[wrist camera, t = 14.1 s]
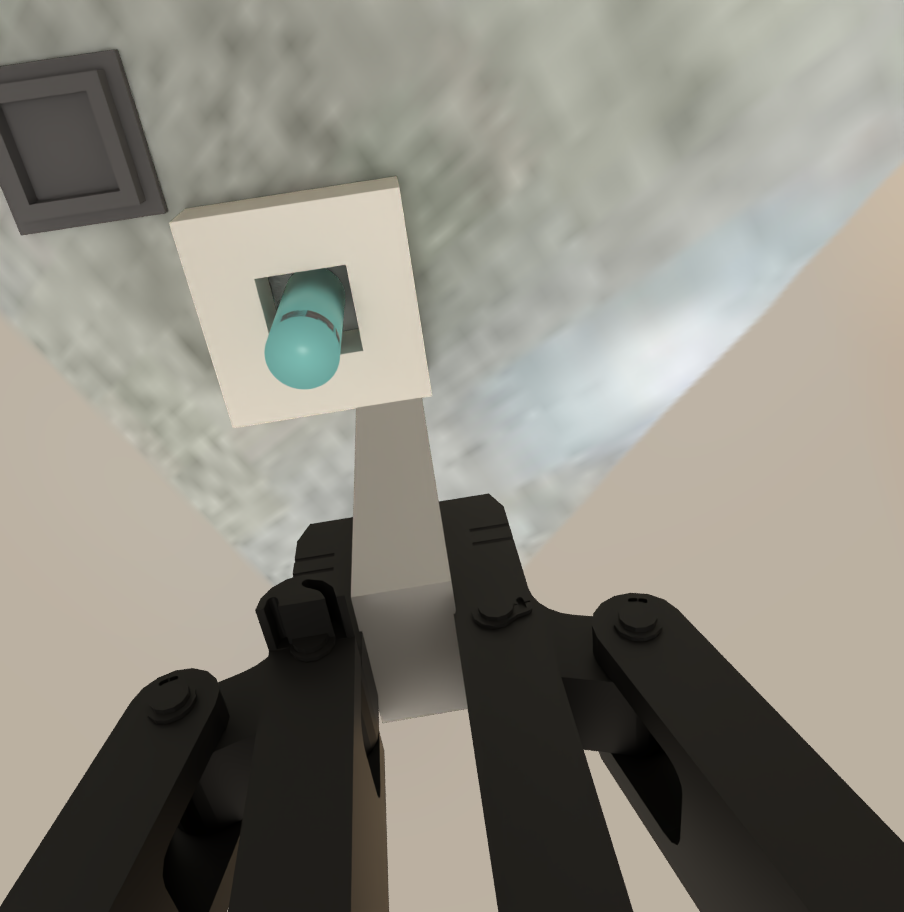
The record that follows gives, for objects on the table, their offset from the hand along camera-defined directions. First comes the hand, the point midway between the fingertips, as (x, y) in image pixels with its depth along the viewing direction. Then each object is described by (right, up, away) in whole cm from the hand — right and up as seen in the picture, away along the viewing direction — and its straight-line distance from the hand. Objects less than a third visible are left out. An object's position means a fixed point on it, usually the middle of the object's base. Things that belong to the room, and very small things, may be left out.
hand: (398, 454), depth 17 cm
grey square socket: (-19, +16, +22) cm, 33 cm away
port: (-7, +10, +27) cm, 30 cm away
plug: (-7, +10, +27) cm, 30 cm away
